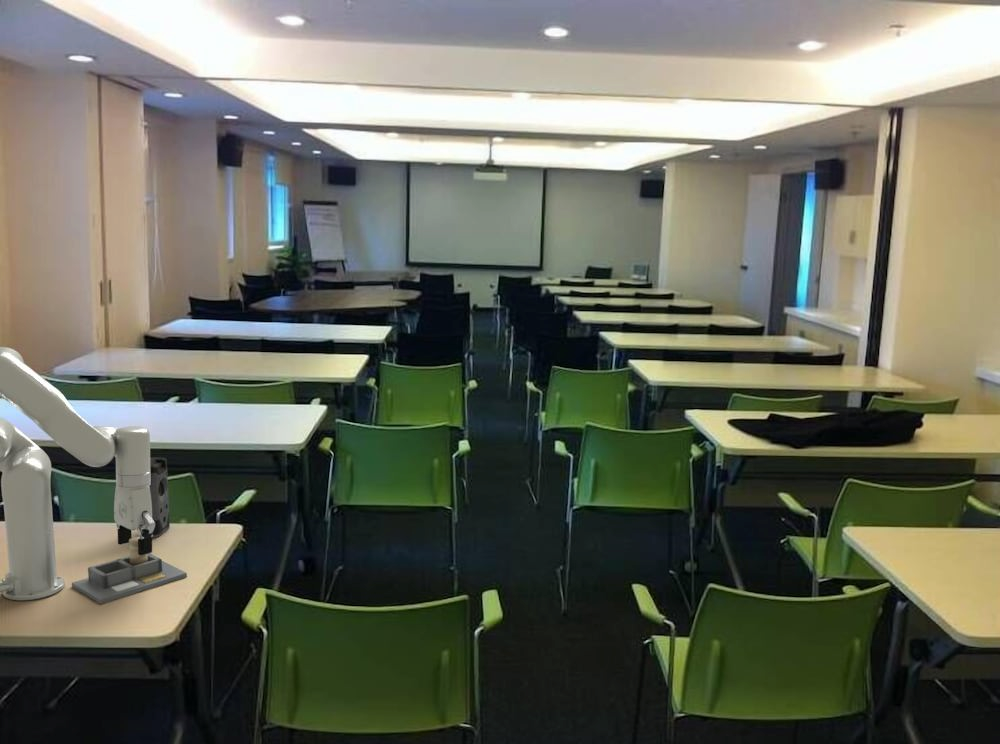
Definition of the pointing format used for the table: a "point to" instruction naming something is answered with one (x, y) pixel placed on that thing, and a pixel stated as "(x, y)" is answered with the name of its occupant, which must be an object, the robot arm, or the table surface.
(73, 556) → the table surface
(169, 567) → the charging dock
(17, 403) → the robot arm
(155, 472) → the electronic device
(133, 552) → the birch plug
